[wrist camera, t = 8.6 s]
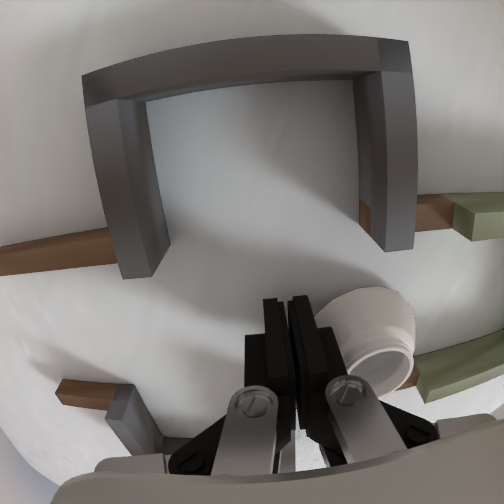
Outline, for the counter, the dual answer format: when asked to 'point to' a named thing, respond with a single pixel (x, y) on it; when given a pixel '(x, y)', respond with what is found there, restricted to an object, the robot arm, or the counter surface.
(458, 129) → the counter surface
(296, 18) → the counter surface
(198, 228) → the counter surface
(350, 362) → the white jar
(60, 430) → the counter surface
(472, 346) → the box
